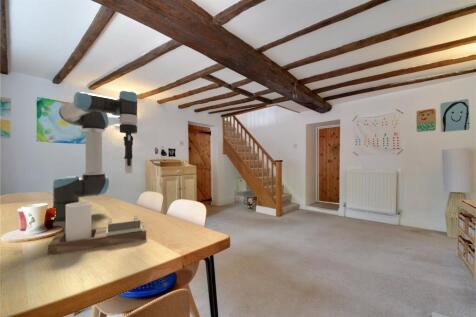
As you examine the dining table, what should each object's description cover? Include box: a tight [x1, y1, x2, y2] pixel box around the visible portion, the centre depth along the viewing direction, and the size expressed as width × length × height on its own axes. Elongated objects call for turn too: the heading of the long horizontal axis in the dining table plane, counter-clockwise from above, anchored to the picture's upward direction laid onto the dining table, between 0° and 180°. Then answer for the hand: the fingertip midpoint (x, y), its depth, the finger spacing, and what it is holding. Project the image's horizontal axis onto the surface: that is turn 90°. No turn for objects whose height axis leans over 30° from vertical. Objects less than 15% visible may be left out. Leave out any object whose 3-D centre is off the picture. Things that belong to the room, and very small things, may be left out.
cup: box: [65, 201, 92, 241], centre depth 86 cm, size 8×8×16 cm
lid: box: [106, 219, 142, 236], centre depth 94 cm, size 13×13×4 cm
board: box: [47, 215, 147, 256], centre depth 96 cm, size 27×32×4 cm
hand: (128, 172), depth 104 cm, fingers open, 8 cm apart
